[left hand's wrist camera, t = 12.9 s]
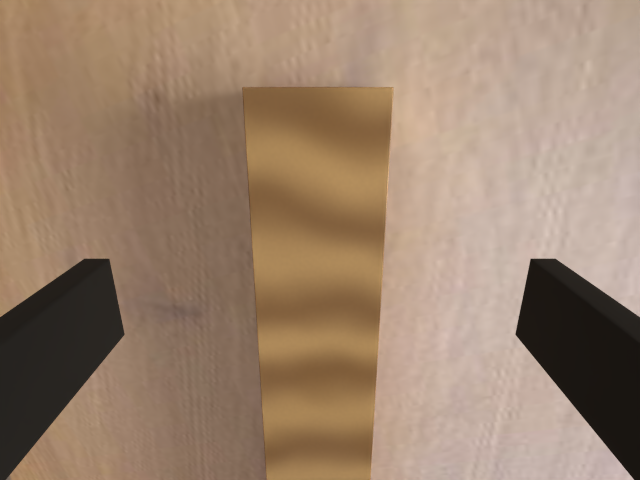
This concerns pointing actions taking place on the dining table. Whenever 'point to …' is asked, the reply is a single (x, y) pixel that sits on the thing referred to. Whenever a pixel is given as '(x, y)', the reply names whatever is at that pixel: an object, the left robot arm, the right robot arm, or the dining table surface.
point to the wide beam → (318, 271)
